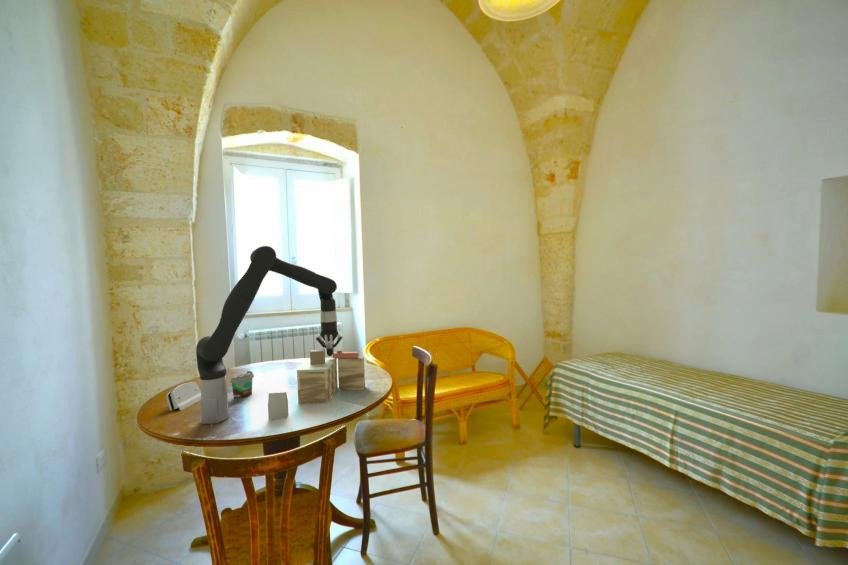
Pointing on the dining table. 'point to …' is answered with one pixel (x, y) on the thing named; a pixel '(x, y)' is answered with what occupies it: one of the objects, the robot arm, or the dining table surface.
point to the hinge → (183, 396)
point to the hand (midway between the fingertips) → (330, 355)
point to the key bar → (345, 354)
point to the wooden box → (331, 380)
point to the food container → (242, 385)
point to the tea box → (277, 406)
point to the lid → (317, 362)
